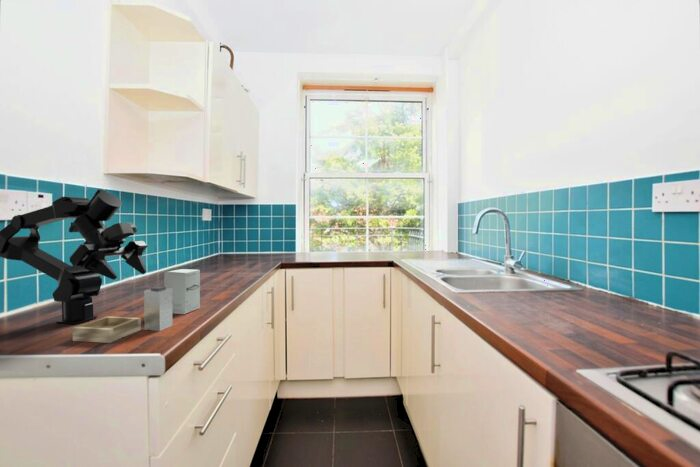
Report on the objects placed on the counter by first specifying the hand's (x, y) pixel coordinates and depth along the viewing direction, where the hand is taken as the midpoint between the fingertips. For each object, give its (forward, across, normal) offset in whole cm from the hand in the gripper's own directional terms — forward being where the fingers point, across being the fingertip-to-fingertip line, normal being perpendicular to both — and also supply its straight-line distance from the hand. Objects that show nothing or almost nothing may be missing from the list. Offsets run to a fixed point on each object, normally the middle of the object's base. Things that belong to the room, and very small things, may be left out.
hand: (130, 275), depth 88 cm
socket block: (+15, 0, +3) cm, 16 cm away
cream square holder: (+10, -8, +9) cm, 15 cm away
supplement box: (+12, +16, +7) cm, 21 cm away
